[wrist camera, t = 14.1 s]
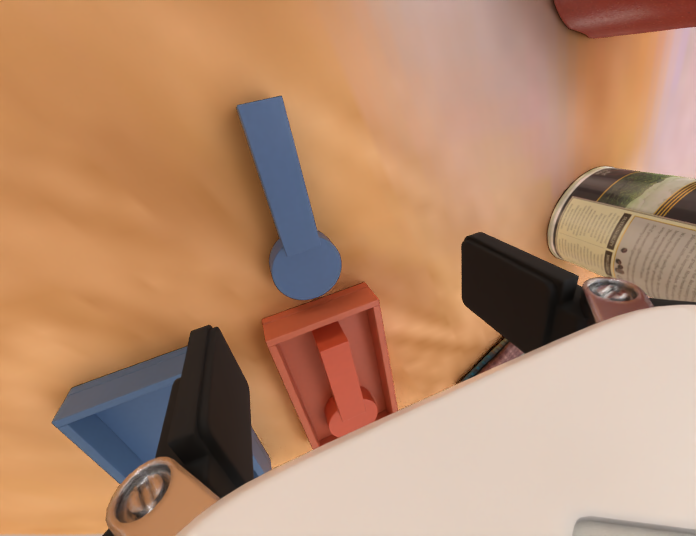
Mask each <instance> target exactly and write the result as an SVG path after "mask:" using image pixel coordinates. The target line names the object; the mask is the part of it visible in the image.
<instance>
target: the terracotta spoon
mask: <svg viewBox="0 0 696 536" xmlns="http://www.w3.org/2000/svg"><path fill="white" fill-rule="evenodd" d="M312 334H313V337H314V340H315V343H316V346H317V349H318V352H319V355H320V359H321V362H322V365H323V368H324V371H325V374H326V377H327V380H328V383H329V386H330V389H331V392H332V395H333V396H332V397H331V398H330V399H329V400H328V402H327V403H326V405H325V408H324V415H325V418H326V421H327V425H328V428H329V431H330V432H331V433H332V434H333V435H334V436H336V437H342V436H344V435H346V434H348V433H350V432H353V431H355V430H357V429H359V428H361V427H363V426H366V425H368V424H370V423H372V422H374V421H375V419H376V417H377V414H378V408H377V405H376V403H375V401H374V399H373V397H372V395H371V393H370V392H369V390H367V389H366V388H364V387H361V386H360V384H359V380H358V376H357V373H356V369H355V365H354V361H353V357H352V353H351V349H350V345H349V341H348V339H347V337H346V335H345V334H344V332H343V330H342V328H341V326H340V324H339V322H338V321H336V322H333V323H331V324H328V325H325V326H323V327H320V328H318V329H315V330H312Z"/></svg>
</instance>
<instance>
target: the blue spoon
mask: <svg viewBox="0 0 696 536" xmlns="http://www.w3.org/2000/svg"><path fill="white" fill-rule="evenodd" d="M236 109H237V112H238V115H239V118H240V121H241V124H242V127H243V130H244V133H245V136H246V139H247V142H248V145H249V148H250V151H251V154H252V157H253V160H254V163H255V166H256V169H257V172H258V175H259V178H260V181H261V184H262V187H263V190H264V193H265V196H266V199H267V202H268V205H269V208H270V211H271V214H272V217H273V220H274V223H275V226H276V229H277V232H278V235H279V238H280V239H279V240H278V241H277V242H276V243H275V245H274V246H273V248H272V250H271V253H270V257H269V266H270V270H271V274H272V278H273V281H274V283H275V285H276V287H277V288H278V289H279V290H280V292H282V293H283V294H284V295H286V296H288V297H290V298H293V299H297V300H309V299H314V298H317V297H319V296H321V295H323V294H325V293H326V292H328V291H329V290H330V289H331V288H332V287H333V286H334V285H335V283H336V282H337V280H338V278H339V275H340V272H341V257H340V254H339V252H338V250H337V249H336V247H335V246H334V245H333V243H332V242H331V241H330V240H329V239H328V238H327V237H326V236H325V235H324V234H323V233H321V232H319V231H317V228H316V224H315V221H314V217H313V213H312V209H311V205H310V201H309V198H308V194H307V190H306V186H305V182H304V179H303V175H302V171H301V167H300V163H299V159H298V156H297V152H296V148H295V144H294V140H293V136H292V133H291V129H290V125H289V121H288V117H287V114H286V110H285V106H284V102H283V98H282V96H278V97H273V98H268V99H264V100H259V101H254V102H250V103H245V104H240V105H237V107H236Z"/></svg>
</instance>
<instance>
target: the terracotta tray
mask: <svg viewBox="0 0 696 536" xmlns="http://www.w3.org/2000/svg"><path fill="white" fill-rule="evenodd" d="M336 321H338V322H339V324H340V326H341V328H342V330H343V332H344V334H345V335H346V337H347V339H348V341H349V345H350V349H351V353H352V357H353V361H354V365H355V369H356V373H357V376H358V380H359V384H360V386H361V387H364V388H366V389H367V390H369V392H370V393H371V395H372V397H373V399H374V401H375V403H376V405H377V408H378V414H377V417H376V419H375V421H377V420H379V419H381V418H383V417H385V416H388V415H390V414H392V413H394V412H396V411H398V408H397V402H396V396H395V390H394V384H393V379H392V373H391V367H390V361H389V356H388V350H387V344H386V338H385V332H384V327H383V321H382V315H381V309H380V303H379V299H378V298H377V297H376V295H375V294H374V293H373V292H372V290H371V289H370V288H369V287H368V285H367V284H366V283H365V282H364V283H361V284H358V285H355V286H353V287H350V288H347V289H344V290H342V291H339V292H336V293H333V294H330V295H328V296H325V297H322V298H319V299H317V300H314V301H311V302H308V303H306V304H303V305H300V306H297V307H294V308H292V309H289V310H286V311H283V312H281V313H278V314H275V315H272V316H270V317H267V318H264V319H262V323H263V329H264V336H265V342H266V344H267V347H268V349H269V351H270V353H271V356H272V358H273V360H274V362H275V365H276V367H277V369H278V372H279V374H280V376H281V378H282V381H283V383H284V385H285V387H286V390H287V392H288V394H289V396H290V399H291V401H292V403H293V405H294V408H295V410H296V412H297V415H298V417H299V419H300V421H301V424H302V426H303V428H304V430H305V433H306V435H307V437H308V439H309V442H310V444H311V446H312V449H313V450H314V449H316V448H318V447H320V446H322V445H324V444H326V443H328V442H331V441H333V440H335V439H337V438H339V437H336V436H334V435H333V434H332V433H331V432H330V431H329V428H328V425H327V421H326V418H325V415H324V408H325V405H326V403H327V402H328V400H329V399H330V398H331V397H332V396H333V395H332V392H331V389H330V386H329V383H328V380H327V377H326V374H325V371H324V368H323V365H322V362H321V359H320V355H319V352H318V349H317V346H316V343H315V340H314V337H313V334H312V330H315V329H318V328H320V327H323V326H325V325H328V324H331V323H333V322H336Z"/></svg>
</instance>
